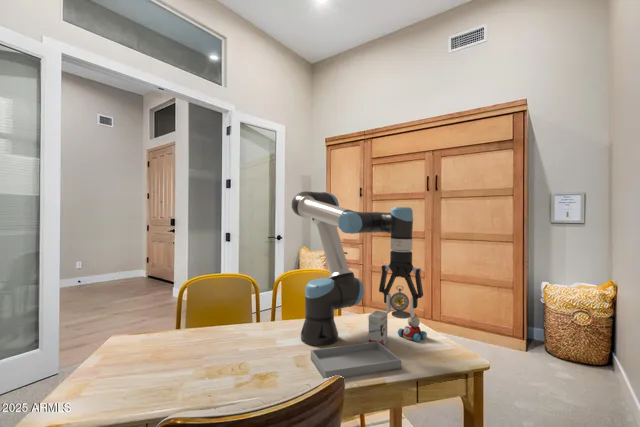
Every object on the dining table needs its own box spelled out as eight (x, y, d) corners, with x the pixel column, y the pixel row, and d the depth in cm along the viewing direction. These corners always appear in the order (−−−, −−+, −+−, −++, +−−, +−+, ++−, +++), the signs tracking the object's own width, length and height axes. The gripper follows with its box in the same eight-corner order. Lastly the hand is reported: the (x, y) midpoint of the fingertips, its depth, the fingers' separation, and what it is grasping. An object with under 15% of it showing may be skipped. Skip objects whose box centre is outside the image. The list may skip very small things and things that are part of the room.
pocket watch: (400, 320, 108) (401, 291, 108) (384, 313, 116) (384, 285, 116) (418, 317, 112) (418, 288, 112) (401, 310, 120) (401, 283, 120)
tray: (325, 381, 96) (325, 371, 97) (310, 358, 112) (310, 350, 112) (401, 369, 104) (401, 359, 104) (377, 349, 120) (377, 341, 120)
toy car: (396, 336, 133) (396, 312, 133) (409, 331, 139) (409, 308, 139) (415, 343, 126) (415, 318, 126) (428, 338, 131) (428, 313, 132)
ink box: (379, 349, 120) (380, 317, 120) (367, 346, 122) (367, 315, 123) (387, 341, 127) (388, 311, 127) (376, 339, 130) (376, 309, 130)
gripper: (369, 249, 116) (368, 312, 116) (429, 254, 105) (427, 323, 106) (377, 247, 122) (376, 307, 123) (433, 251, 112) (432, 317, 112)
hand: (400, 314), depth 114 cm, fingers closed on pocket watch, 8 cm apart
